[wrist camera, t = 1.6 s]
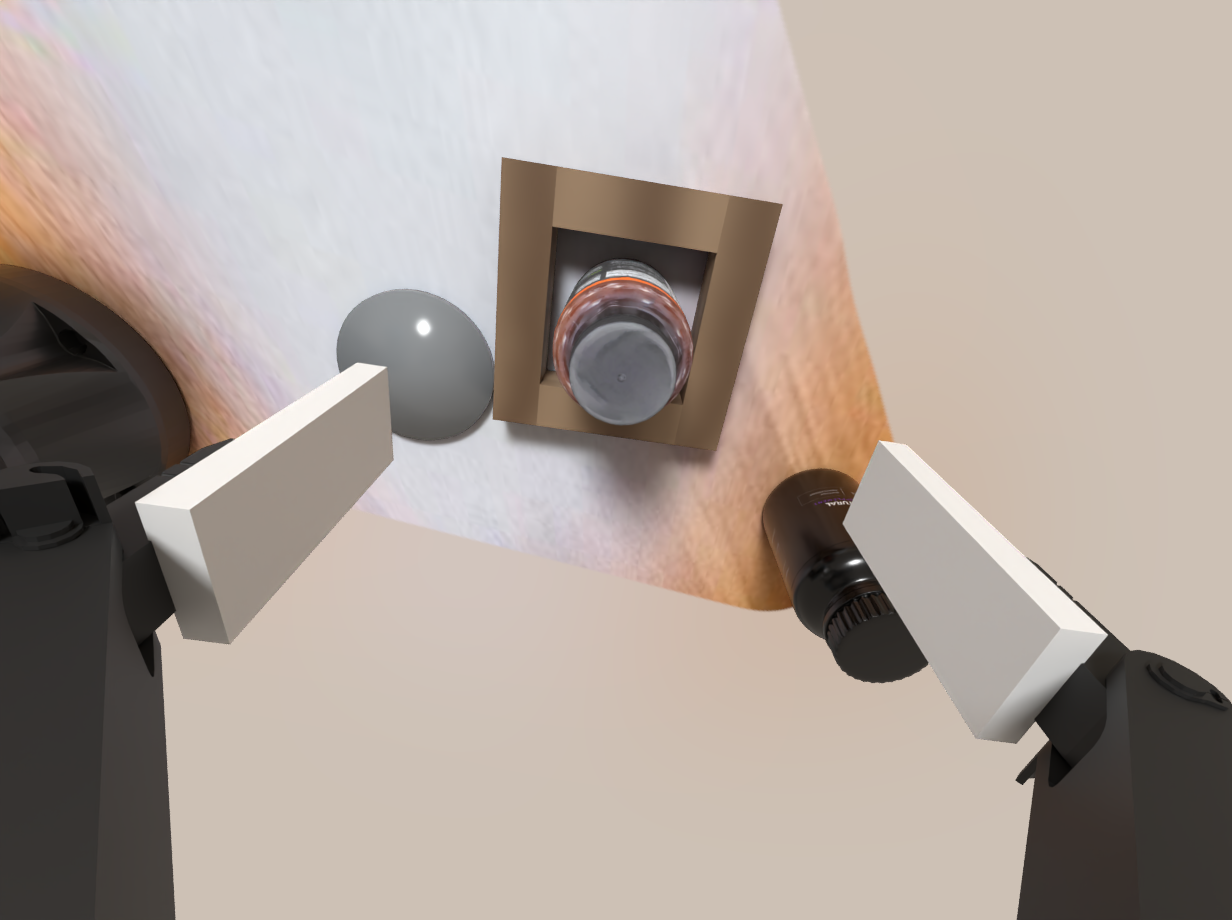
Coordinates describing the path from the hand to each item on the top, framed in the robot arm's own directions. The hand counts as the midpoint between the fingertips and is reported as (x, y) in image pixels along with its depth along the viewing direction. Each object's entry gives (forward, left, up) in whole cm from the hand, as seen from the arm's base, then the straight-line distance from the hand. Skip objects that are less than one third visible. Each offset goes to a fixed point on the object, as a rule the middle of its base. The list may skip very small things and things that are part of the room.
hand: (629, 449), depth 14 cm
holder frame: (0, 0, -17) cm, 17 cm away
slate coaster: (-12, -5, -17) cm, 21 cm away
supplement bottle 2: (+14, -11, -17) cm, 25 cm away
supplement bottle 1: (0, 0, -17) cm, 17 cm away
